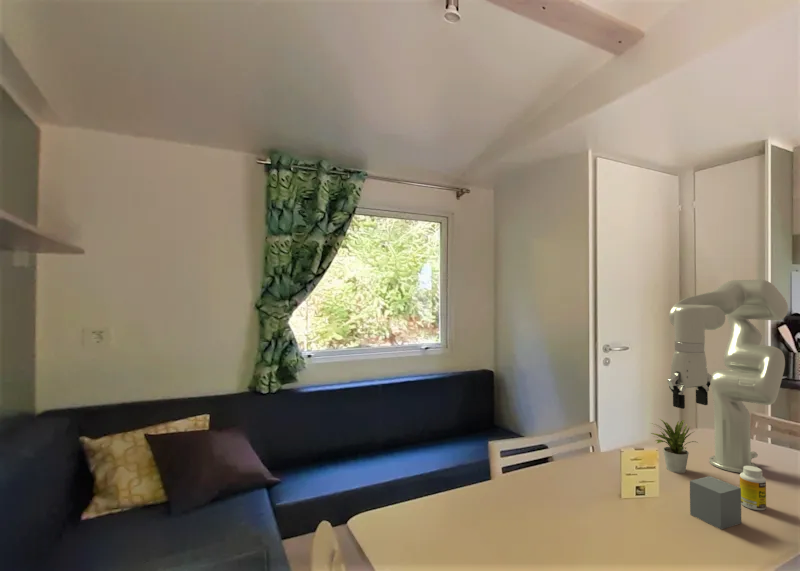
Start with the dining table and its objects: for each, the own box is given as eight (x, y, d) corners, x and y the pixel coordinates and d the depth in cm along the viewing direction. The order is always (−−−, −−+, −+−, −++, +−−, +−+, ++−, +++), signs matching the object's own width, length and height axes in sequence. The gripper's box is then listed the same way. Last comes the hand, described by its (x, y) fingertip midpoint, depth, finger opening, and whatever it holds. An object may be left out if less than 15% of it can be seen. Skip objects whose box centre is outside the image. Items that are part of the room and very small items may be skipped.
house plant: (657, 456, 154) (656, 409, 154) (704, 467, 144) (704, 417, 145) (645, 468, 144) (644, 418, 144) (694, 481, 134) (694, 427, 134)
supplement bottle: (761, 513, 115) (761, 474, 115) (736, 504, 120) (735, 467, 120) (769, 507, 118) (769, 469, 118) (744, 499, 123) (744, 462, 123)
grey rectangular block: (710, 508, 118) (709, 476, 118) (741, 523, 110) (740, 488, 110) (690, 514, 115) (689, 480, 115) (720, 529, 108) (720, 493, 108)
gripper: (697, 344, 137) (698, 399, 137) (657, 348, 131) (657, 405, 130) (722, 347, 130) (723, 405, 130) (681, 351, 124) (682, 412, 123)
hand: (690, 405), depth 130 cm, fingers open, 9 cm apart
